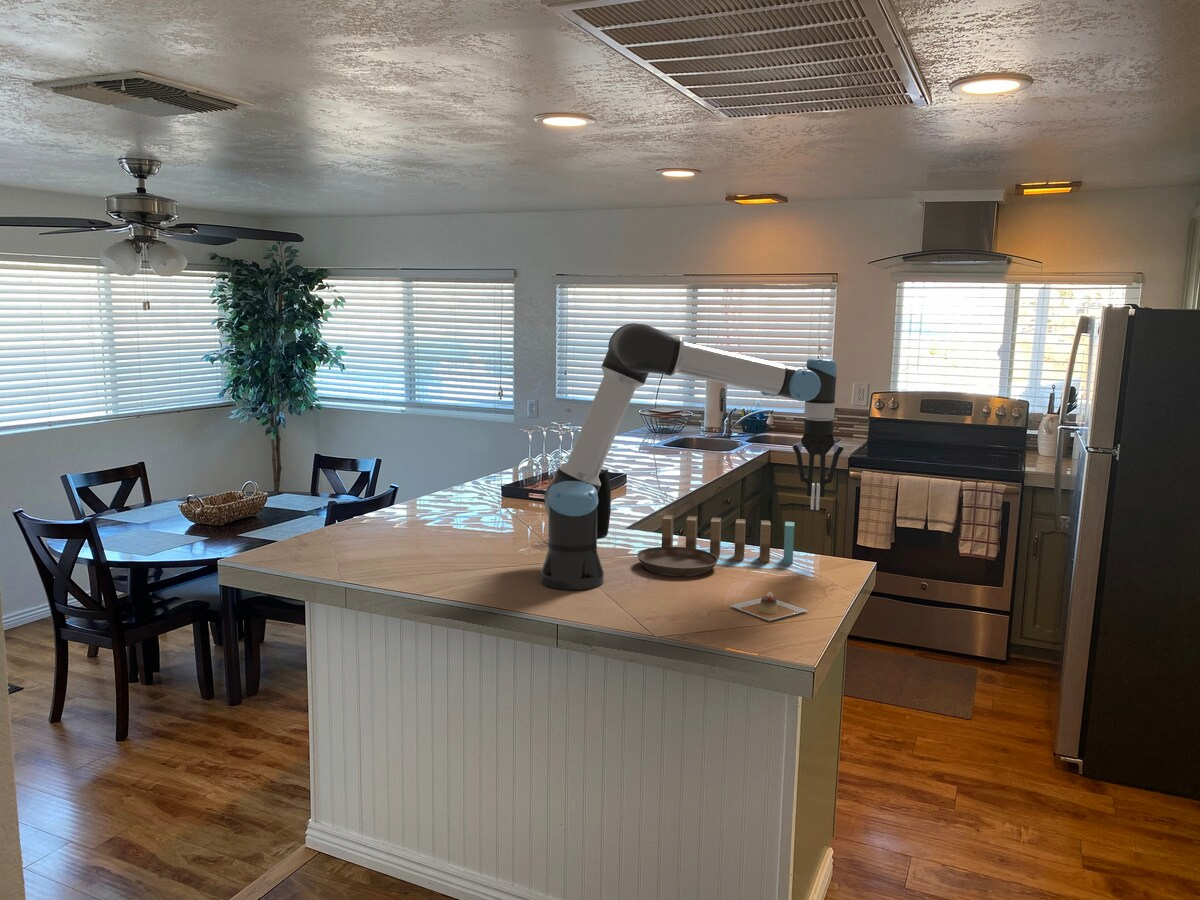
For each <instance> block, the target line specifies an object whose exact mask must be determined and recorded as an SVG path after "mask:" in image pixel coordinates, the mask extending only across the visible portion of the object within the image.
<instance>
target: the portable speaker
mask: <svg viewBox="0 0 1200 900" xmlns="http://www.w3.org/2000/svg"><path fill="white" fill-rule="evenodd" d="M599 480H600V482H601V486H600V488H599V491H598V493H597V496H598V505H597V537H599V538H602V537H603V536H604V535H605V534H607V535H608V533H609V528H610V527H609V526H610V520H611V513H612V512H611V511H612V509H611V508H612V506H611V505H612V501H611V500H612V499H611V498H612V488H611V482H610V472H609V469H604V468H602V469H601V471H600V473H599Z"/></svg>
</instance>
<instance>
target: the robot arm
mask: <svg viewBox="0 0 1200 900" xmlns="http://www.w3.org/2000/svg"><path fill="white" fill-rule="evenodd" d="M601 370H602V372H603V377H602V380H601V382H600V385H599V386H598V389H597V391H596V393H595V395H594V398H593V401H592V404H591V406H590V408H589V409H588V412H587V415H586V417H585V420H584V423H583V424H582V427H581V429H580V431H579V434H578V437H577V438H576V441H575V444H574V446H573V448H572V451H571V453H570V455H569V458H568V460H567V461H566V463H564V464H562V465H560V466H559V465H558V468H557V470H556V472H555V475H554V478H553V480H552V481H551V483H550V484H549V486H547V488H546V489H545V492H544V498H543V501H544V503H543V504H544V508H545V509H544V510H545V511H546V513H547V517H548V520H547V521H548V523H547V524H548V529H547V530H548V532H547V533H548V538H547V539H548V540H547V541H548V543H547V544H548V546H547V547H548V549H547V553H546V556H545V559H544V561H543V565H542V568H541V570H540V582H541V584H543V585H544V586H546V587H549V588H552V589H556V590H568V591H575V590H576V591H577V590H579V591H580V590H588V589H589V590H590V589H593V588H596V587H599V586H602V585H603V584H604V580H605V578H604V577H605V576H604V575H605V574H604V573H605V571H604V569H603V566H602V562H601V559H600V557H599V553H598V538H597V505H598V496H597V493H598V491H599V488H600V486H601V482H600V480H599V473H600V471H601V469H603V467H604V463H605V461H606V458H608V457H607V456H608V454H609V452H610V450H611V448H612V445H613V442H614V440H615V438H616V436H617V433H618V431H619V429H620V426H621V423H622V422H623V419H624V417H625V414H626V412H627V409H628V407H629V405H630V402H631V400H632V399H633V395H634V393H635V390H636V389H637V388H640V387H642V386H644V385H645V383H646V381H647V378H648V376H649V374H659V375H664V376H667V377H668V376H670V377H673V376H674V375H675V374H679V375H680V374H681V375H684V376H689V377H694V378H699V379H703V380H707V381H712V382H716V383H721V384H724V385H729V386H732V387H733V386H734V387H738V388H743V389H747V390H752V391H757V392H759V393H761V394H762V395H763V396H768V397H769V396H770V397H783V398H787V399H792V400H795V401H798V402H804V413H803V414H804V418H805V419H804V420H803V436H802V437H801V440H800V441H799V442H797V443H794V444H792V449H793V451H794V453H795V455H796V461H797V467H798V472H799V473H798V474H799V477H800V479H799V480H800V482H803V483H805V484H806V495H807V497H810V510H816V511H819V510H820V499H821V498H824V496H825V490H826V489H825V487H826V485H827V484H831V483H832V482H833V479H834V475H835V472H836V468H837V465H838V461H839V458H840V455H841V454H842V453H843V451H844V447H843V445H839V444H838V443H837V442H836V441H835V438H834V429H835V426H834V425H835V422H834V420H833V419H834V418H835V409H836V408H835V407H836V389H837V377H838V375H837V372H838V371H837V362H836V361H835V359H831V358H808V359H807V361H806V363H805V366H792V365H786V364H783V363H778V362H774V361H770V360H766V359H761V358H757V357H753V356H748V355H744V354H739V353H735V352H731V351H726V350H722V349H717V348H713V347H708V346H705V345H700V344H696V343H691V342H687V341H684V340H683V338H682V336H680V335H675V334H674V333H673V334H672V333H668V332H666V331H663V330H660V329H659V328H655V327H652V326H651V325H648V324H644V323H638V322H637V323H636V322H635V323H634V322H632V323H627V324H626V323H625V324H624V325H622V326H620V327H618V328H617V329H616V330H615V331H614V332H613V333H612V335H611V336H610V339H609V341H608V348H607V351H606V354H605V357H604V359H603V362H602V364H601ZM803 448H804V449H805V450H806V451H807V453H808V454H809V455H808V456H809V457H808V466H807V467H808V468H807V477H806V475H805V469H804V463H803V457H802V453H801V452H802V450H803ZM832 448H833V449H832ZM831 449H832V450H833V452H834V453H833V455H832V459H831V463H830V466H829V469H828V473H827V474H828V475H827V477H826V455H827V454H828V453H829V452H830V451H831ZM817 455H818V456H819V483H816V485H815V483H813V476H814V464H815V463H814V462H815V456H817ZM815 489H816V493H815ZM815 496H816V497H815Z"/></svg>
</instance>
